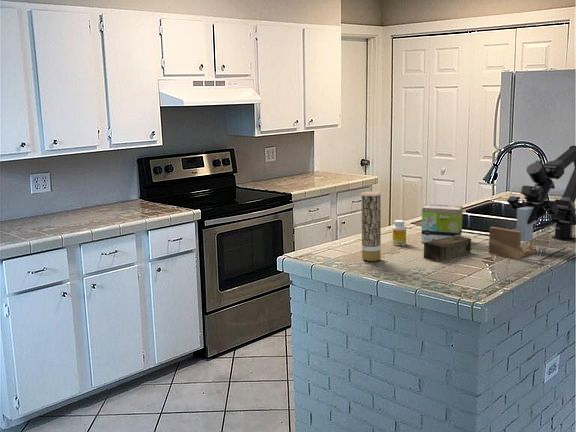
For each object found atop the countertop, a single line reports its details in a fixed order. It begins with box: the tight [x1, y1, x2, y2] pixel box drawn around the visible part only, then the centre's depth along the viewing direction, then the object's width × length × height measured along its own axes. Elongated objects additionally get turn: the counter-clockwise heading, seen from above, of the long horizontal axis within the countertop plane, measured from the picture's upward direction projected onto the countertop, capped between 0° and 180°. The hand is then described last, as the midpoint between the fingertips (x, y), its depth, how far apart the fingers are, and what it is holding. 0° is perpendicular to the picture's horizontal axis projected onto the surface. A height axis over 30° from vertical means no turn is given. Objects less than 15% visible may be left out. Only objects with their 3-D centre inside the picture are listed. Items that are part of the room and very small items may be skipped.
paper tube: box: [361, 191, 382, 262], centre depth 224 cm, size 7×7×25 cm
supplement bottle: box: [392, 219, 407, 246], centre depth 247 cm, size 5×5×10 cm
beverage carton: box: [423, 235, 472, 263], centre depth 228 cm, size 8×19×7 cm, turn 128°
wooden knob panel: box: [488, 226, 537, 260], centre depth 228 cm, size 13×12×10 cm
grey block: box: [515, 207, 534, 242], centre depth 231 cm, size 5×4×12 cm
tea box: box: [421, 203, 464, 243], centre depth 249 cm, size 15×10×15 cm
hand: (522, 222), depth 230 cm, fingers closed on grey block, 4 cm apart
